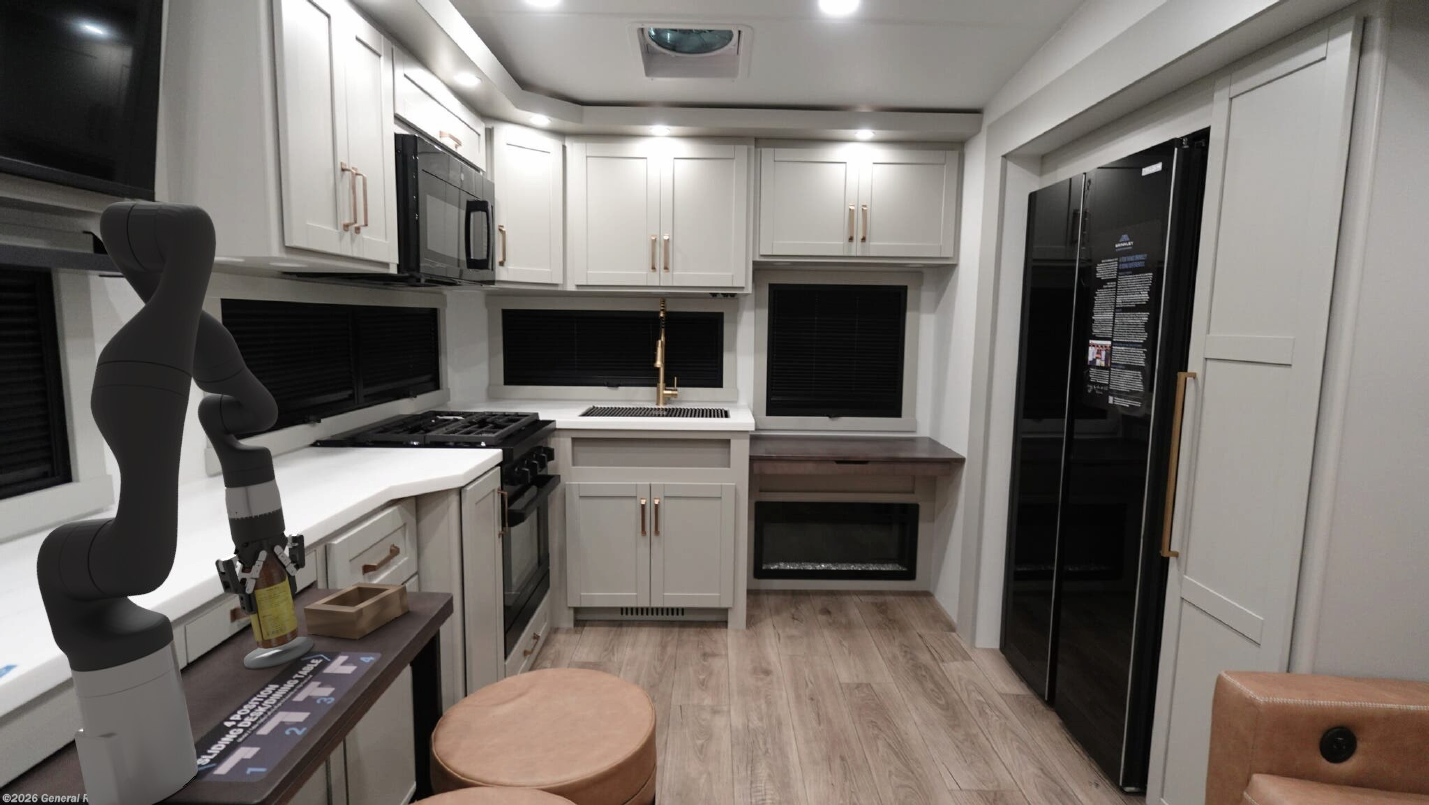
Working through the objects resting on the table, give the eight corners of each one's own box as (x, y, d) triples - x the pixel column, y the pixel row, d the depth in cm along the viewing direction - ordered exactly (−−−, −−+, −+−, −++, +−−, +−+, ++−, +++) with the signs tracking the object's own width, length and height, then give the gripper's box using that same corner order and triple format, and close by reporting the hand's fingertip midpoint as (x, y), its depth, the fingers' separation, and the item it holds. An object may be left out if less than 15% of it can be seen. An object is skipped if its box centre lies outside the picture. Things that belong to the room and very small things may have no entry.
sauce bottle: (307, 633, 117) (290, 523, 115) (281, 650, 111) (262, 534, 109) (273, 634, 118) (255, 525, 116) (245, 651, 112) (225, 536, 109)
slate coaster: (272, 671, 108) (271, 668, 108) (229, 665, 112) (229, 662, 112) (326, 642, 118) (326, 639, 117) (285, 638, 121) (285, 634, 121)
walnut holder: (357, 639, 118) (353, 612, 117) (307, 634, 122) (303, 608, 121) (409, 610, 129) (405, 585, 128) (362, 606, 133) (358, 582, 132)
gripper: (226, 523, 104) (244, 625, 106) (310, 498, 117) (324, 589, 119) (194, 522, 106) (212, 622, 108) (279, 497, 120) (294, 587, 122)
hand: (271, 604), depth 114 cm, fingers closed on sauce bottle, 6 cm apart
